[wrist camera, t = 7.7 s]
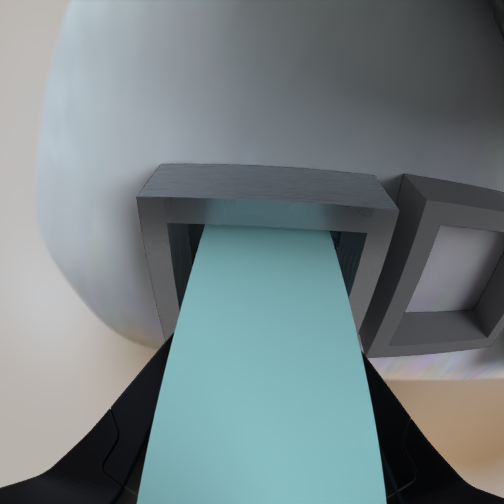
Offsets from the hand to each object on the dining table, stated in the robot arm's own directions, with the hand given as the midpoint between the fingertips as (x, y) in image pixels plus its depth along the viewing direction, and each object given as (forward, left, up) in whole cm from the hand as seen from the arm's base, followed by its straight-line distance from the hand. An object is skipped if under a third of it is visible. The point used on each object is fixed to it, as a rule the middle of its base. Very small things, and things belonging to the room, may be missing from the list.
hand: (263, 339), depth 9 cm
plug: (0, 0, -3) cm, 3 cm away
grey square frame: (-8, 0, -4) cm, 9 cm away
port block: (0, 0, -4) cm, 4 cm away
